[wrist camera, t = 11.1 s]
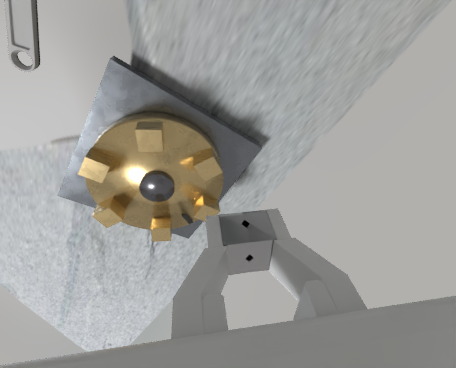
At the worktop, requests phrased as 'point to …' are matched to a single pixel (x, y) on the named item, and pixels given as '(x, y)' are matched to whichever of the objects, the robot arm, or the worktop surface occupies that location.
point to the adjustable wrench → (22, 32)
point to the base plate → (152, 103)
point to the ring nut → (153, 174)
